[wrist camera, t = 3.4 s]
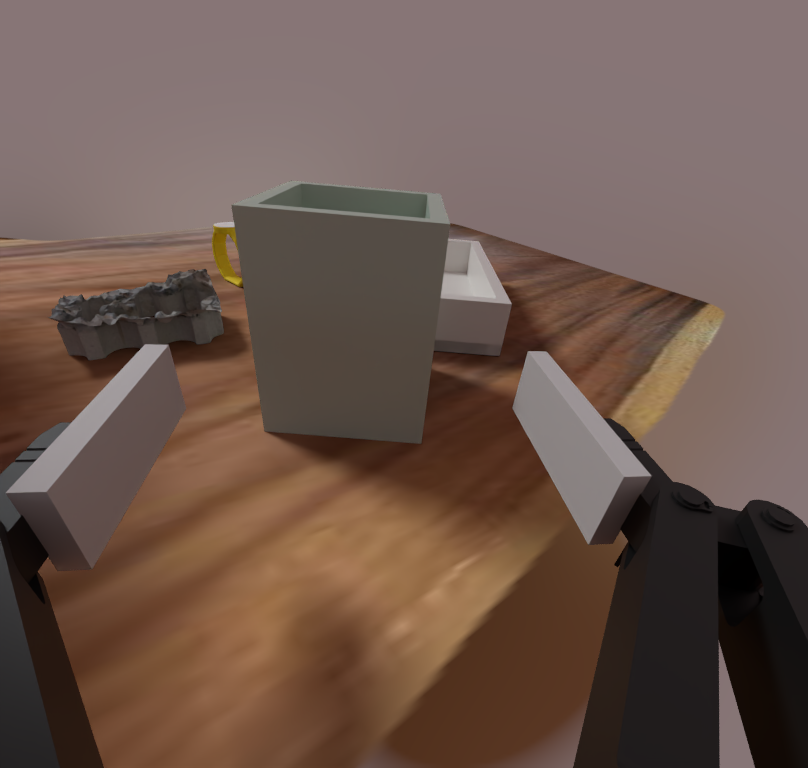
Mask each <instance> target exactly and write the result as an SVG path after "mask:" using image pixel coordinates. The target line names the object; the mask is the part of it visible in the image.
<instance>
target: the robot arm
mask: <svg viewBox="0 0 808 768" xmlns="http://www.w3.org/2000/svg"><path fill="white" fill-rule="evenodd" d="M512 409H513V410H514V412H515V414H516V416H517V418H518V419H519V421H520V423H521V425H522V427H523V428H524V430H525V432H526V434H527V436H528V437H529V439H530V441H531V443H532V444H533V446H534V448H535V450H536V452H537V453H538V455H539V457H540V459H541V461H542V462H543V464H544V466H545V468H546V470H547V471H548V473H549V475H550V477H551V479H552V480H553V482H554V484H555V486H556V488H557V489H558V491H559V493H560V495H561V497H562V498H563V500H564V502H565V504H566V505H567V507H568V509H569V511H570V513H571V514H572V516H573V518H574V520H575V522H576V523H577V525H578V527H579V529H580V530H581V532H582V534H583V536H584V538H585V540H586V541H587V543H588V545H594V544H612V543H613V542H614V540H615V539H616V537H617V535H618V534H619V532H620V530H621V531H622V532H623V534H624V535H625V537H626V538H627V540H628V543H627V544H626V546H625V548H624V549H623V551H622V553H621V555H620V556H619V558H618V559H617V561H616V563H615V566H617V567H618V566H619V565H620V567H619V572H618V576H617V580H616V585H615V589H614V593H613V598H612V602H611V606H610V611H609V615H608V619H607V623H606V628H605V633H604V637H603V641H602V646H601V650H600V654H599V658H598V662H597V667H596V671H595V676H594V680H593V684H592V689H591V693H590V698H589V701H588V706H587V710H586V714H585V719H584V723H583V727H582V732H581V736H580V741H579V745H578V749H577V753H576V758H575V762H574V766H573V768H719V660H718V659H719V655H718V654H719V652H718V650H719V646H718V645H719V644H718V639H719V643H720V646H721V649H722V653H723V657H724V660H725V663H726V667H727V671H728V674H729V678H730V681H731V685H732V688H733V692H734V695H735V698H736V702H737V706H738V709H739V713H740V716H741V720H742V723H743V726H744V730H745V734H746V737H747V741H748V744H749V748H750V751H751V755H752V758H753V761H754V765H755V768H808V528H807V526H806V525H805V524H804V523H803V521H802V520H800V519H799V518H798V517H797V516H795V515H794V514H793V513H792V512H790V511H789V510H787V509H785V508H783V507H781V506H779V505H776V504H774V503H771V502H768V501H763V500H752V501H750V502H749V503H748V504H747V505H746V506H745V508H744V509H743V510H742V511H737V510H732V509H728V508H723V507H719V506H715V505H714V504H713V503H712V502H711V500H710V499H709V498H708V497H707V496H705V495H704V494H703V493H701V492H700V491H698V490H696V489H695V488H692V487H691V486H688V485H685V484H682V483H678V482H673V481H672V480H671V479H670V478H669V477H668V476H667V475H666V474H665V473H664V471H663V470H662V469H661V468H660V467H659V466H658V465H657V464H656V462H655V461H654V460H653V459H652V458H651V457H650V456H649V454H648V453H647V452H646V451H643V448H642V447H641V445H639V443H638V442H635V439H634V438H633V437H632V435H631V434H630V433H629V432H628V431H627V430H626V429H625V428H624V427H623V426H621V425H620V424H618V423H617V422H615V421H614V420H612V419H603V418H602V417H601V415H600V414H599V413H598V412H597V411H596V410H595V408H594V407H593V406H592V405H591V404H590V402H589V401H588V400H587V399H586V398H585V397H584V395H583V394H582V393H581V392H580V391H579V389H578V388H577V387H576V386H575V385H574V383H573V382H572V381H571V380H570V379H569V378H568V376H567V375H566V374H565V373H564V372H563V370H562V369H561V368H560V367H559V366H558V365H557V363H556V362H555V361H554V360H553V359H552V357H551V356H550V355H549V354H548V353H547V352H542V351H528V353H527V357H526V360H525V364H524V368H523V371H522V375H521V378H520V382H519V386H518V389H517V393H516V396H515V400H514V404H513V407H512ZM185 410H186V406H185V403H184V399H183V395H182V392H181V388H180V384H179V381H178V377H177V373H176V369H175V366H174V362H173V358H172V355H171V351H170V347H169V345H153V344H145V345H144V346H143V347H142V348H141V349H140V350H139V351H138V352H137V353H136V355H135V356H134V357H133V358H132V359H131V360H130V361H129V362H128V363H127V364H126V365H125V366H124V367H123V368H122V369H121V370H120V372H119V373H118V374H117V375H116V376H115V377H114V378H113V379H112V380H111V381H110V382H109V383H108V384H107V385H106V386H105V388H104V389H103V390H102V391H101V392H100V393H99V394H98V395H97V396H96V397H95V398H94V399H93V400H92V401H91V402H90V403H89V405H88V406H87V407H86V408H85V409H84V410H83V411H82V412H81V413H80V414H79V415H78V416H77V417H76V418H75V419H74V420H73V422H72V423H59V424H57V425H56V426H54V427H52V428H51V429H49V430H47V431H46V432H44V433H42V434H41V435H39V436H38V437H37V438H36V439H35V440H34V441H33V442H32V443H31V444H30V445H29V446H28V447H27V451H23V452H22V453H21V454H20V455H19V456H18V457H17V458H16V459H15V463H11V464H10V465H9V466H8V467H7V468H6V469H5V470H4V471H3V472H2V473H1V474H0V768H104V767H103V764H102V761H101V757H100V754H99V751H98V748H97V745H96V742H95V739H94V736H93V733H92V730H91V727H90V723H89V720H88V717H87V714H86V711H85V708H84V705H83V702H82V699H81V696H80V692H79V689H78V686H77V683H76V680H75V677H74V674H73V671H72V668H71V665H70V662H69V658H68V655H67V652H66V649H65V646H64V643H63V640H62V637H61V634H60V631H59V628H58V624H57V621H56V618H55V615H54V612H53V609H52V606H51V603H50V600H49V597H48V593H47V590H46V587H45V584H44V581H43V579H42V577H41V576H40V575H39V573H38V572H37V571H38V570H39V569H40V567H41V566H42V564H43V563H44V562H45V560H46V559H47V557H49V559H50V560H51V562H52V563H53V565H54V566H55V568H56V569H57V571H69V570H90V569H93V567H94V565H95V564H96V562H97V560H98V558H99V557H100V555H101V553H102V552H103V550H104V548H105V547H106V545H107V543H108V541H109V540H110V538H111V536H112V535H113V533H114V531H115V529H116V528H117V526H118V524H119V523H120V521H121V519H122V517H123V516H124V514H125V512H126V511H127V509H128V507H129V505H130V504H131V502H132V500H133V499H134V497H135V495H136V494H137V492H138V490H139V488H140V487H141V485H142V483H143V482H144V480H145V478H146V476H147V475H148V473H149V471H150V470H151V468H152V466H153V464H154V463H155V461H156V459H157V458H158V456H159V454H160V452H161V451H162V449H163V447H164V446H165V444H166V442H167V441H168V439H169V437H170V435H171V434H172V432H173V430H174V429H175V427H176V425H177V423H178V422H179V420H180V418H181V417H182V415H183V413H184V411H185Z"/></svg>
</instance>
